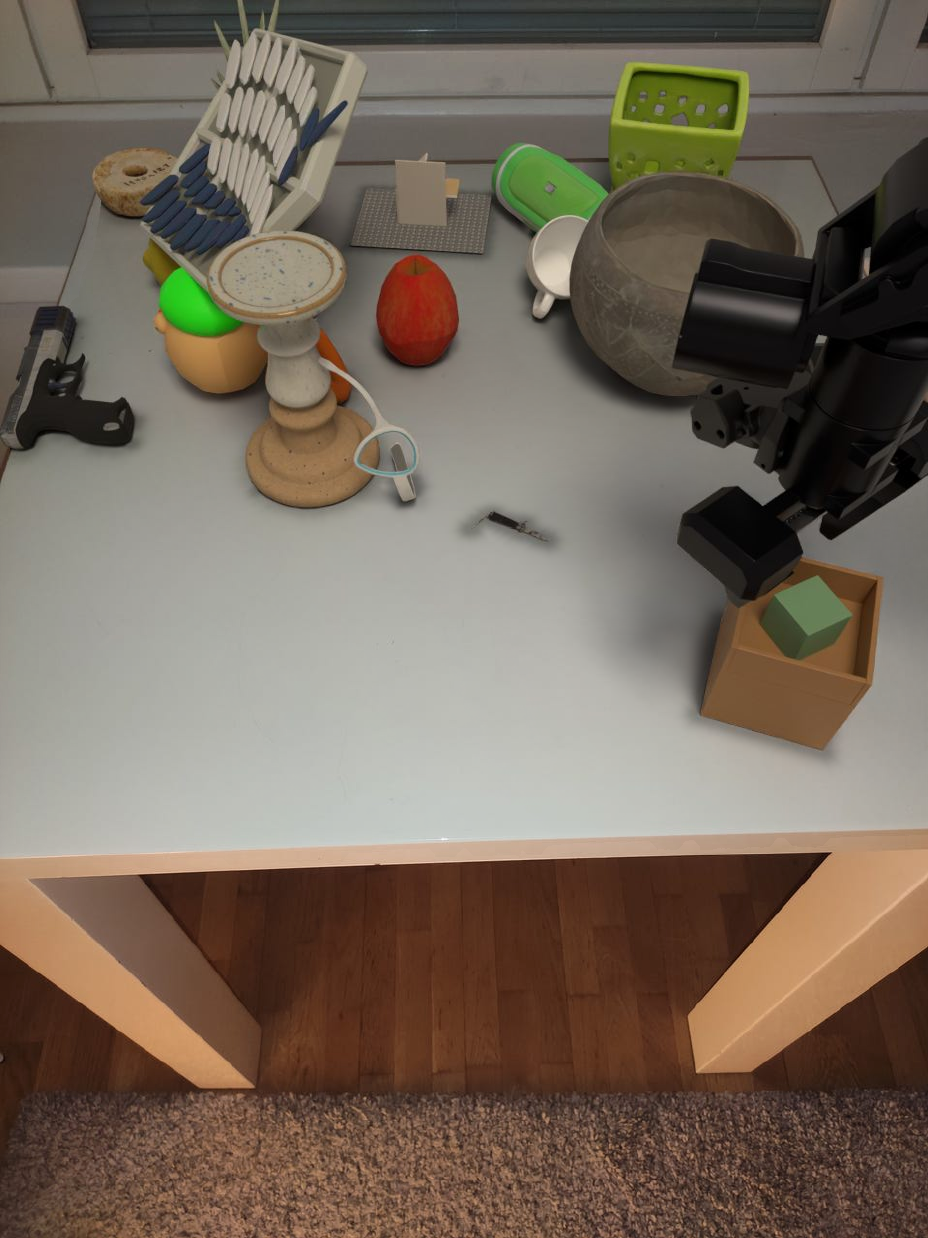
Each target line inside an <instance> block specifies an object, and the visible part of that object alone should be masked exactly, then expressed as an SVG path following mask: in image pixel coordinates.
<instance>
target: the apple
mask: <svg viewBox="0 0 928 1238" xmlns="http://www.w3.org/2000/svg"><path fill="white" fill-rule="evenodd" d="M375 311H376V312H375V317H376V318H375V321H376V327H377V331H378V335H379V336H380V338H381V339H382V342H383V343H384V345H385V347H386V348H387V351H388V352H389V353H391V354H392V355H393V356H394V357H395V358H396V359H397V360H399V361H400V362H401V363H403V364H405V365H410V366H415V367H416V366H422V365H423V366H424V365H429V364H431V363H433V362H434V361H436V360H438V359H439V358H441V356H442V355H443V353H444V352H445V350H446V349H447V348H448V346H449V345H450V344H451V342H452V341H453V339H454V338H455V336H456V335H457V332H458V329H459V323H460V315H459V308H458V299H457V295H456V293H455V290H454V287H453V285H452V282H451V280H450V279H449V277H448V275H447V274H446V273H445V271H444V270H443V269H442V268H441V267H440V266H439V265H438V264H437V263H436V262H434V261H432V260H431V259H429V258H428V257H427V256H424V255H421V254H410V255H408V256H405V257H403V258H402V259H400V260H399V261H397V262H395V263H394V264H393V266H391V269H390V270H389V271H388V273H387V275H386V276H385V278H384V280H383V282H382V284H381V287H380V291H379V295H378V300H377V303H376V310H375Z"/></svg>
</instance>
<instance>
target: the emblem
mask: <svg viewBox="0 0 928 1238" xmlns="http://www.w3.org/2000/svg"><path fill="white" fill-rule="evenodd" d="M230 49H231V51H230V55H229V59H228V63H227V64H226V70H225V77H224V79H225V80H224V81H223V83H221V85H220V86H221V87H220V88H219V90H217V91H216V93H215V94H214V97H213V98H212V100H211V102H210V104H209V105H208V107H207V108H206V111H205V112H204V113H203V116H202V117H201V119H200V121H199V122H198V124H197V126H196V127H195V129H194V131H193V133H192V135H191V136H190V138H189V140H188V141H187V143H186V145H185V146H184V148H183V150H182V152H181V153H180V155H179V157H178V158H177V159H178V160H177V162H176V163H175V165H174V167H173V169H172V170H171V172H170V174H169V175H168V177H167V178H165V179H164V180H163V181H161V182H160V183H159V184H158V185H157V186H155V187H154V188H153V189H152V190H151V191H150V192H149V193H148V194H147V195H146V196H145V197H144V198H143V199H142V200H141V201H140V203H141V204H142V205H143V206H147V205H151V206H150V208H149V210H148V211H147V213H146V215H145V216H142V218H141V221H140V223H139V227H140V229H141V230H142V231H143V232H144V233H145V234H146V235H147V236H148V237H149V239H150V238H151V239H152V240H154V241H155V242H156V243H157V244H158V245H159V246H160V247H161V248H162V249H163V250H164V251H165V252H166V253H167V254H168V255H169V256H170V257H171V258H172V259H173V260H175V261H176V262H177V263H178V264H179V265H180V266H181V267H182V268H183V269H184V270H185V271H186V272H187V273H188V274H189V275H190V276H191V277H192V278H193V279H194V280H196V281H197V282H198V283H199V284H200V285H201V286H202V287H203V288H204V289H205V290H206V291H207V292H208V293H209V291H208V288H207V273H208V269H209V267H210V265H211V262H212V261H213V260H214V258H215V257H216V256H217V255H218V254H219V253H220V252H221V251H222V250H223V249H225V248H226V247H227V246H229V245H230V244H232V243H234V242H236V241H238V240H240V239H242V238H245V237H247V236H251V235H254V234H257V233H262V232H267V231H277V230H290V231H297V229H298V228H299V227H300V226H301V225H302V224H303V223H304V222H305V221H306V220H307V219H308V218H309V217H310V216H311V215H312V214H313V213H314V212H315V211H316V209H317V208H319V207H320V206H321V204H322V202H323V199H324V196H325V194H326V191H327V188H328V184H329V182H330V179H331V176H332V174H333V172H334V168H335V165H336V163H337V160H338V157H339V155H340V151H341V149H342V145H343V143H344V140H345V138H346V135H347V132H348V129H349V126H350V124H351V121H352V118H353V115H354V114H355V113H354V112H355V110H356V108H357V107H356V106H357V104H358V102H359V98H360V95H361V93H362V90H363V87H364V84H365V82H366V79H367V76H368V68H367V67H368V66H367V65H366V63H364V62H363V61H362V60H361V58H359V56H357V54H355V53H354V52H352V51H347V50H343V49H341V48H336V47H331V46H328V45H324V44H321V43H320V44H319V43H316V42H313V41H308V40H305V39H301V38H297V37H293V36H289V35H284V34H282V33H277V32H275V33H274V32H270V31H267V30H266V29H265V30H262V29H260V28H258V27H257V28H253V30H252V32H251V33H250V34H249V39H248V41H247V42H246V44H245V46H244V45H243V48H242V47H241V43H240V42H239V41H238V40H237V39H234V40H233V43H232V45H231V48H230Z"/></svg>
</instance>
